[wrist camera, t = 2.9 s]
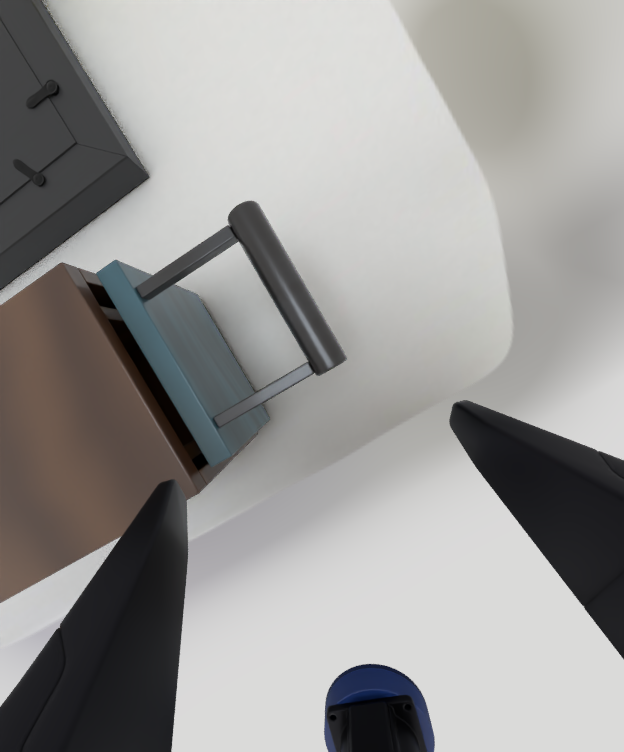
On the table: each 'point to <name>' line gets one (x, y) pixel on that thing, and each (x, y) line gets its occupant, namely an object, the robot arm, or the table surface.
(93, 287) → the cabinet
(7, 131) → the picture frame
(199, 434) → the drawer
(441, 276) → the table surface
